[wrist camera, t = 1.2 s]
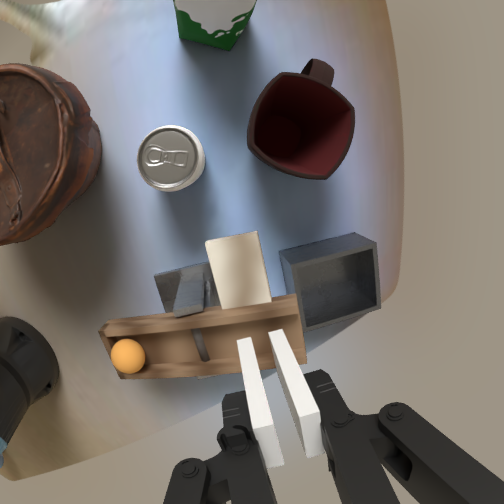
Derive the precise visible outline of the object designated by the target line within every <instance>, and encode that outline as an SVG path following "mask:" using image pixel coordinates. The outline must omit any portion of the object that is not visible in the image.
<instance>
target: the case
mask: <svg viewBox="0 0 504 504" xmlns="http://www.w3.org/2000/svg"><path fill="white" fill-rule="evenodd" d="M99 132H100V131H99V128H98V125H97V124H96V123H95V122H94V121H93V120H92V117H91V116H90V108H89V106H88V104H87V102H86V101H85V99H84V97H83V96H82V94H81V93H80V91H79V90H78V89H77V87H76V86H75V85H74V84H72V83H71V82H67V81H66V80H65V79H63V78H62V77H60V76H59V75H57V74H55V73H53V72H51V71H49V70H47V69H44V68H40V67H36V66H30V65H26V64H17V63H15V64H14V63H10V64H3V65H0V246H2V245H7V244H11V243H18V242H23V241H26V240H29V239H30V238H32V237H34V236H35V235H37V234H39V233H40V232H42V231H43V230H44V229H45V228H48V227H50V226H51V225H52V224H53V223H54V222H55V220H56V218H57V217H58V216H59V214H60V213H61V212H62V211H63V210H64V209H66V208H67V207H68V206H69V205H70V204H71V203H72V202H74V201H75V200H76V199H77V198H78V197H79V196H81V195H82V194H83V193H84V192H85V191H86V190H87V189H88V187H89V186H90V185H91V183H92V182H93V180H94V178H95V176H96V174H97V171H98V168H99V165H100V160H101V151H102V147H101V140H100V135H99Z"/></svg>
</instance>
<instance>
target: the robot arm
mask: <svg viewBox="0 0 504 504" xmlns="http://www.w3.org/2000/svg"><path fill="white" fill-rule="evenodd" d="M268 334H269V338H270V343H271V347H272V352H273V356H274V361H275V365H276V369H277V373H278V376H279V379H280V382H281V385H282V388H283V391H284V394H285V396H286V400H287V402H288V405H289V408H290V411H291V414H292V417H293V420H294V423H295V426H296V428H297V431H298V434H299V437H300V440H301V443H302V446H303V448H304V451H305V454H306V457H307V458H310V457H314V456H317V455H320V454H323V453H325V452H324V449H325V451H326V453H327V457H328V467H329V471H331V472H332V475H333V478H334V481H335V484H336V487H337V490H338V493H339V496H340V499H341V502H342V504H400V502H399V500H398V499H397V496H396V494H395V492H394V490H393V488H392V486H391V484H390V481H389V479H388V477H387V475H386V473H385V471H384V469H383V467H382V465H383V466H384V467H385V468H386V469H387V470H388V471H389V472H390V473H391V474H392V475H393V477H394V478H395V479H396V480H397V481H398V482H399V483H400V484H401V485H402V486H403V487H404V488H405V489H406V490H407V491H408V492H409V493H410V494H411V495H412V496H413V497H414V498H415V499H416V500H417V501H418V502H419V503H420V504H504V482H503V481H502V480H501V479H500V478H498V477H497V476H496V475H495V474H493V473H492V472H490V471H489V470H488V469H487V468H486V467H484V466H483V465H482V464H480V463H479V462H478V461H477V460H475V459H474V458H473V457H472V456H470V455H469V454H468V453H466V452H465V451H464V450H463V449H461V448H460V447H459V446H457V445H456V444H455V443H454V442H453V441H451V440H450V439H449V438H448V437H446V436H445V435H444V434H443V433H441V432H440V431H439V430H438V429H436V428H435V427H434V426H433V425H431V424H430V423H429V422H428V421H426V420H425V419H424V418H423V417H421V416H420V415H419V414H418V413H417V412H415V411H414V410H412V408H410V407H409V406H408V405H406V404H404V403H399V402H395V403H390V404H387V405H385V406H384V407H383V408H381V410H380V412H379V414H371V415H359V414H355V413H354V412H353V411H350V410H349V408H348V407H347V405H346V404H345V402H344V400H343V398H342V397H341V395H340V393H339V391H338V390H337V388H336V386H335V384H334V383H333V381H332V379H331V377H330V376H329V374H328V373H326V372H325V371H323V370H321V369H320V370H316V371H313V372H310V373H306V374H302V371H301V369H300V367H299V365H298V363H297V360H296V358H295V356H294V354H293V352H292V349H291V347H290V345H289V343H288V341H287V338H286V336H285V334H284V332H283V330H282V329H279V330H276V331H272V332H268ZM237 345H238V351H239V357H240V362H241V368H242V374H243V379H244V385H245V390H244V391H240V392H235V393H231V394H226V395H225V397H224V399H223V401H222V411H223V424H224V427H223V428H222V429H221V430H220V431H219V433H218V435H217V441H218V443H219V445H220V447H221V449H222V451H221V452H220V453H219V454H218V455H216V456H214V457H213V458H210V459H208V460H205V461H202V460H200V459H197V458H188V459H185V460H182V461H180V462H179V463H178V464H177V465H176V466H175V468H174V470H173V472H172V476H171V479H170V482H169V486H168V489H167V492H166V496H165V499H164V502H163V504H226V502H227V501H229V500H231V503H232V504H277V501H276V498H275V494H274V491H273V488H272V485H271V481H270V478H269V475H268V473H267V469H268V468H272V467H276V466H281V465H284V464H285V463H284V460H283V456H282V453H281V449H280V446H279V442H278V438H277V434H276V431H275V427H274V423H273V419H272V416H271V412H270V408H269V404H268V401H267V397H266V393H265V390H264V386H263V382H262V378H261V374H260V370H259V367H258V363H257V359H256V355H255V351H254V347H253V343H252V339H251V337H248V338H244V339H240V340H237ZM58 375H59V369H58V363H57V360H56V357H55V354H54V352H53V350H52V348H51V347H50V345H49V344H48V342H47V341H46V339H45V338H44V337H43V336H42V335H41V334H40V333H39V332H38V331H37V330H36V329H35V328H34V327H33V326H31V325H30V324H28V323H27V322H25V321H23V320H21V319H18V318H15V317H3V318H0V455H1V454H2V452H3V451H4V450H5V449H6V448H7V445H8V443H9V441H10V439H11V438H12V436H13V434H14V432H15V430H16V428H17V427H18V425H19V423H20V421H21V420H22V418H23V416H24V414H25V413H26V411H27V409H28V407H29V406H30V405H31V404H33V403H35V402H36V401H38V400H39V399H41V398H42V397H44V396H46V395H47V394H48V393H49V392H50V391H51V390H52V389H53V387H54V385H55V384H56V382H57V379H58ZM381 464H382V465H381Z"/></svg>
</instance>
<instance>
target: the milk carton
mask: <svg viewBox="0 0 504 504" xmlns="http://www.w3.org/2000/svg"><path fill="white" fill-rule="evenodd" d="M256 1H257V0H173V2H174V7H175V11H176V18H177V25H178V32H179V38H182V39H186V40H190V41H194V42H198V43H202V44H206V45H209V46H213V47H217V48H220V49H223V50H227V51H230V50H231V48H232V47H233V45H234V44H235V42H236V41H237V39H238V38H239V36H240V35H241V33H242V32H243V30H244V28H245V27H246V25H247V23H248V21H249V19H250V17H251V15H252V13H253V10H254V7H255V4H256Z"/></svg>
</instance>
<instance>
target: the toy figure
mask: <svg viewBox="0 0 504 504" xmlns="http://www.w3.org/2000/svg"><path fill="white" fill-rule="evenodd" d="M3 463H4V459H3V455H2V454H1V455H0V468H1V467H2V466H3Z"/></svg>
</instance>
